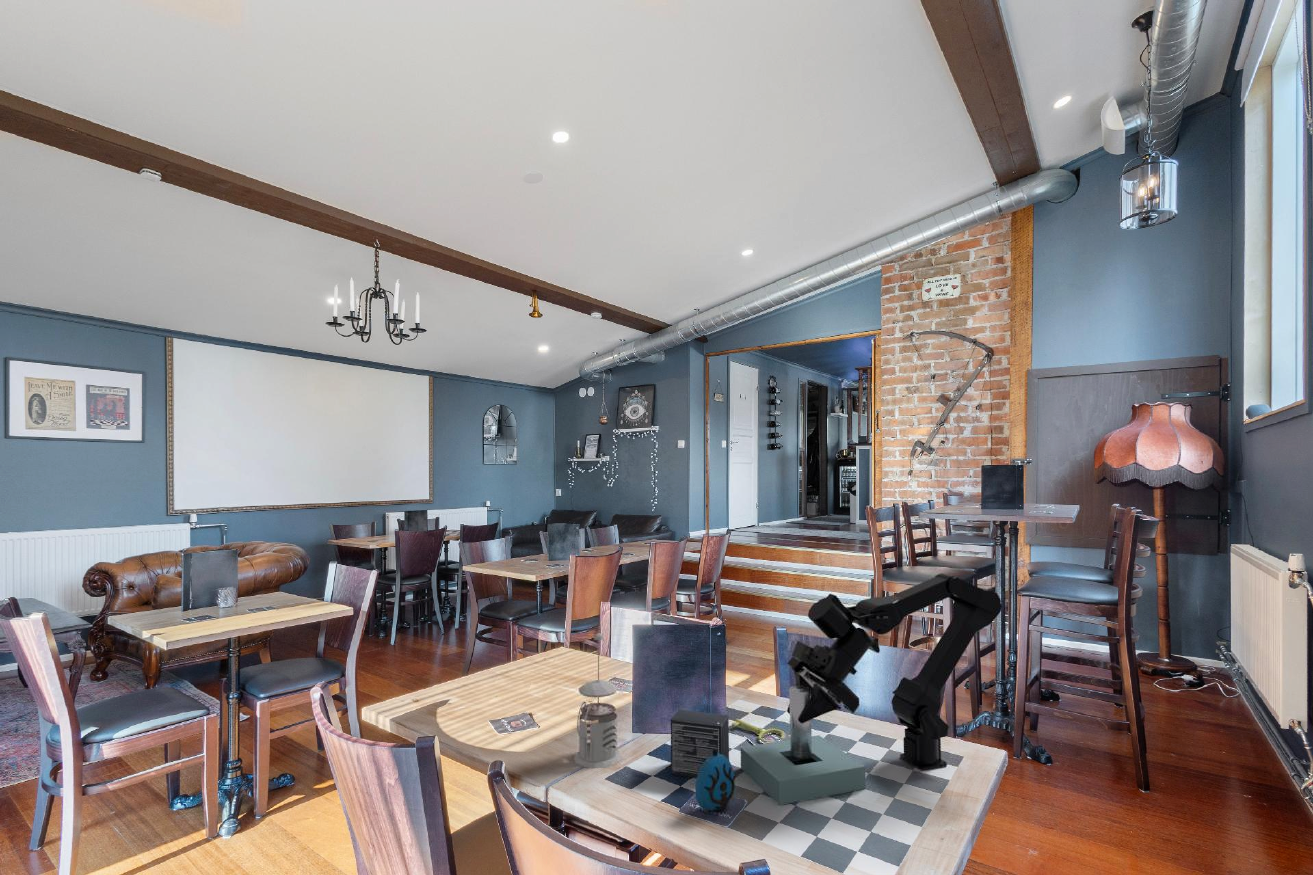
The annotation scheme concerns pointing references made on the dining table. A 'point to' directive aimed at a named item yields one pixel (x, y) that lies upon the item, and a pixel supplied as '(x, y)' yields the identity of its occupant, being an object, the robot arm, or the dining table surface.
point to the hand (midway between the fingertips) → (794, 717)
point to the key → (758, 729)
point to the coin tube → (799, 731)
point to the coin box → (802, 771)
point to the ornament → (715, 782)
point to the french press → (597, 725)
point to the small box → (696, 740)
